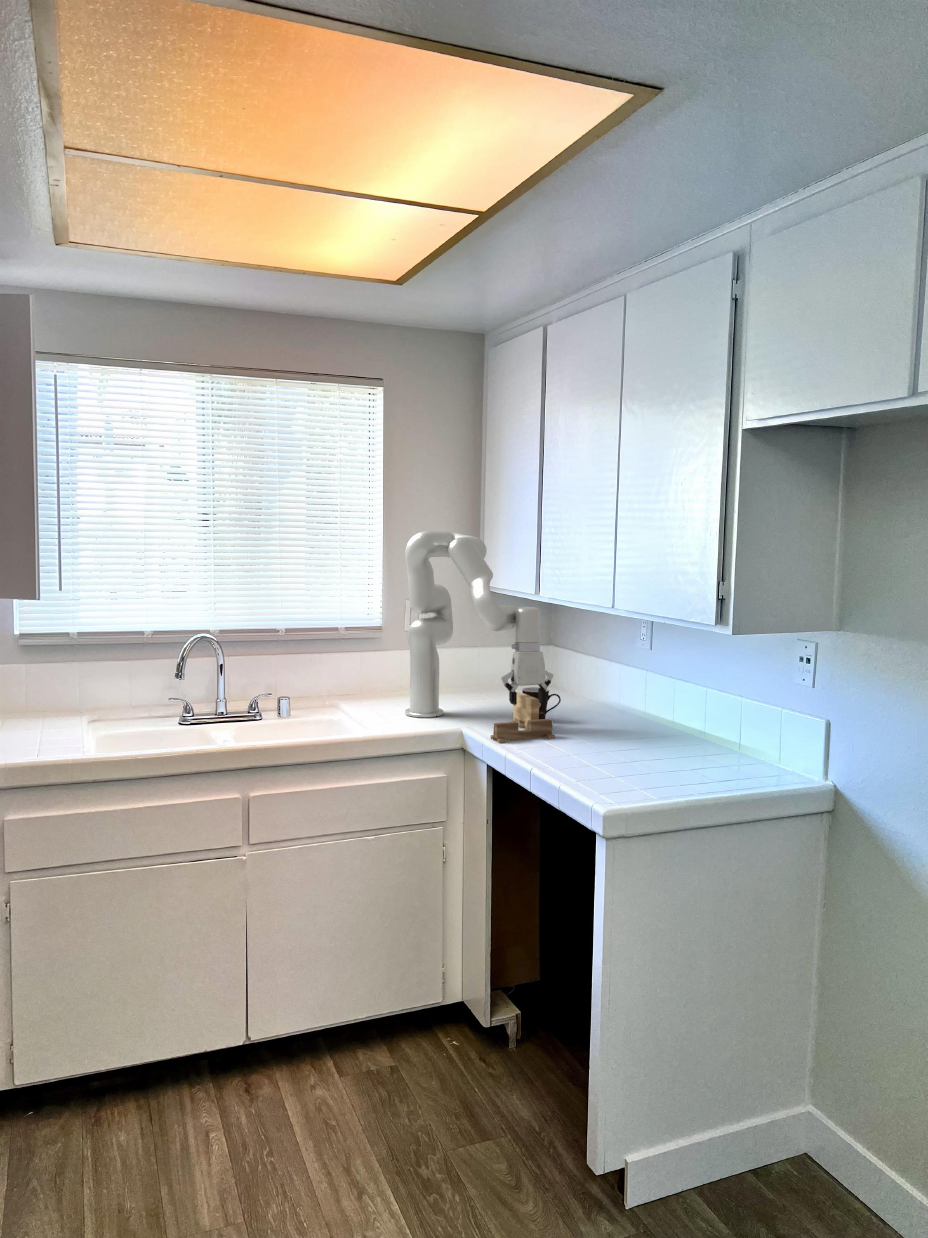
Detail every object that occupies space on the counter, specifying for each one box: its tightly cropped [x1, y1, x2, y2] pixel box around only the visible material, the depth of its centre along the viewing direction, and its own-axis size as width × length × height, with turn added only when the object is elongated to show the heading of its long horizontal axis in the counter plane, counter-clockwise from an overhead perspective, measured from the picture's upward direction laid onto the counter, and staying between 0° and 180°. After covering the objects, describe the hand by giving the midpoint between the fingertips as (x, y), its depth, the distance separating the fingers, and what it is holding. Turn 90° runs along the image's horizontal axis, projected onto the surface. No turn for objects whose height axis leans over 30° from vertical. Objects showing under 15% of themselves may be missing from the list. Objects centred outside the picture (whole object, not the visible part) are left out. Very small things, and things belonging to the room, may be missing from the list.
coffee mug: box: [521, 686, 562, 719], centre depth 289 cm, size 12×9×10 cm
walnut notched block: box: [490, 718, 556, 744], centre depth 265 cm, size 6×18×5 cm, turn 113°
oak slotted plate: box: [512, 692, 539, 730], centre depth 279 cm, size 12×3×10 cm, turn 23°
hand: (527, 702), depth 278 cm, fingers open, 9 cm apart
